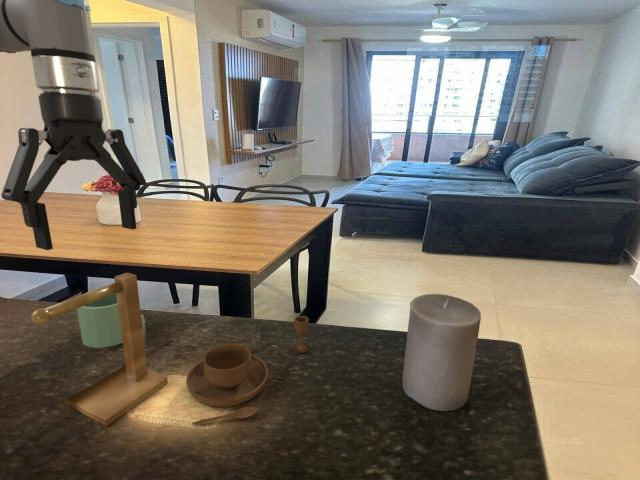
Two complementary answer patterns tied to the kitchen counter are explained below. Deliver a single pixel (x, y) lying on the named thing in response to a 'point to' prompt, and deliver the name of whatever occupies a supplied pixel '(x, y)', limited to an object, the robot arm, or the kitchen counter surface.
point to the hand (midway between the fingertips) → (91, 237)
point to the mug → (102, 323)
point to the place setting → (234, 375)
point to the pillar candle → (440, 351)
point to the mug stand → (134, 378)
